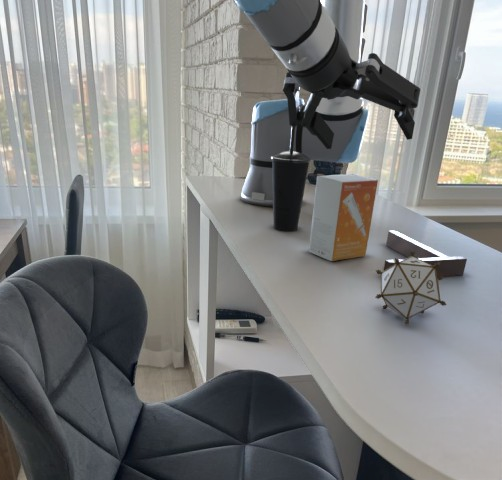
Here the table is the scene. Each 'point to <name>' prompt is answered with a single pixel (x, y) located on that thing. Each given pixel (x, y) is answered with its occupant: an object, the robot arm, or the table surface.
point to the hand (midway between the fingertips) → (369, 136)
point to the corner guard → (424, 255)
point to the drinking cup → (288, 186)
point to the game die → (410, 286)
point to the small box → (342, 216)
